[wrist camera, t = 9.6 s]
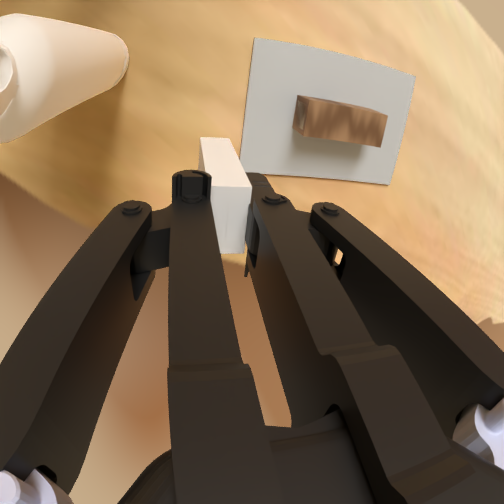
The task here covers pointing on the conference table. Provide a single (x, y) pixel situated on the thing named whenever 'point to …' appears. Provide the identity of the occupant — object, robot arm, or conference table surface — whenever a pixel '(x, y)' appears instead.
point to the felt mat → (324, 87)
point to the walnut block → (338, 121)
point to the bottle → (52, 69)
